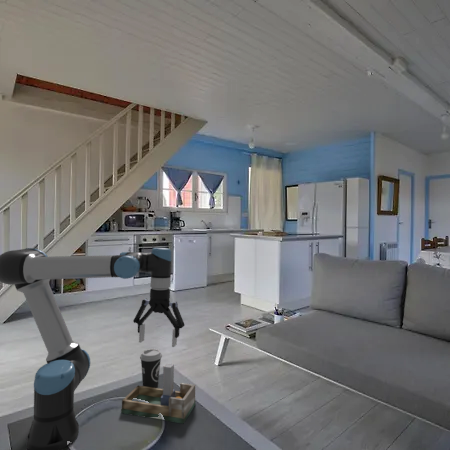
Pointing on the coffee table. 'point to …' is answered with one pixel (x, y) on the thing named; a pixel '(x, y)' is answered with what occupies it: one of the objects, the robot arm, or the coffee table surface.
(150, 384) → the coffee cup
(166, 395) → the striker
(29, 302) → the robot arm
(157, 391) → the wooden tray
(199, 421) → the coffee table surface
